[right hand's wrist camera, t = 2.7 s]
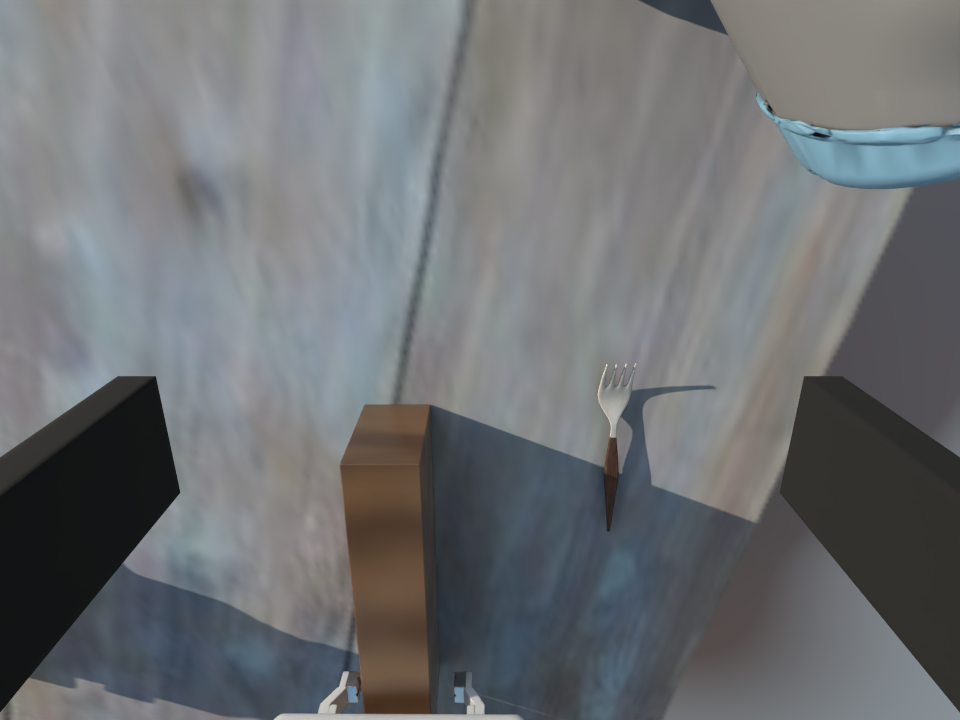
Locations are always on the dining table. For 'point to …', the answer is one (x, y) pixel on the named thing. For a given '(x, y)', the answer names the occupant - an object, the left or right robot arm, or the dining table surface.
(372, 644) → the bar
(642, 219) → the dining table surface
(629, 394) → the fork
